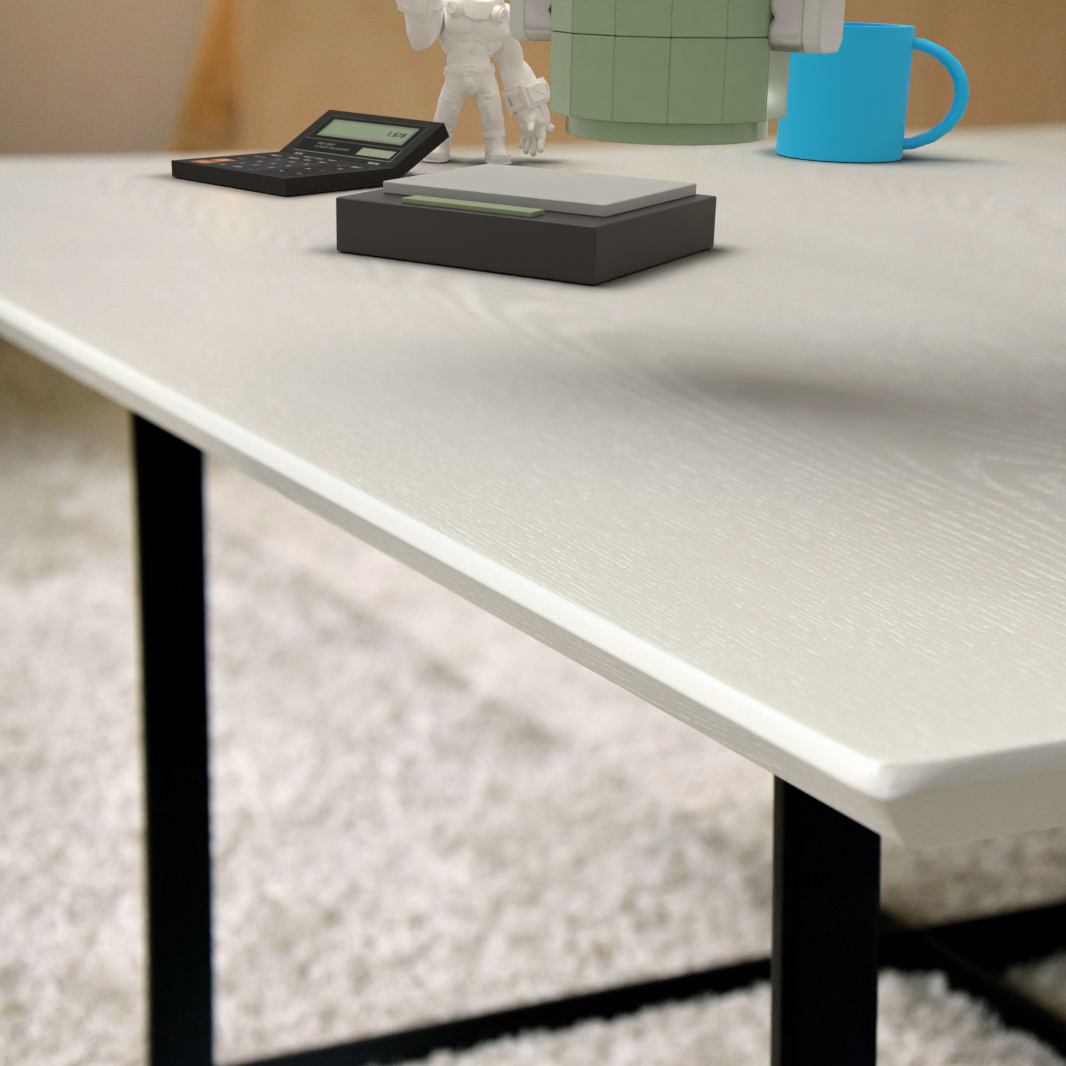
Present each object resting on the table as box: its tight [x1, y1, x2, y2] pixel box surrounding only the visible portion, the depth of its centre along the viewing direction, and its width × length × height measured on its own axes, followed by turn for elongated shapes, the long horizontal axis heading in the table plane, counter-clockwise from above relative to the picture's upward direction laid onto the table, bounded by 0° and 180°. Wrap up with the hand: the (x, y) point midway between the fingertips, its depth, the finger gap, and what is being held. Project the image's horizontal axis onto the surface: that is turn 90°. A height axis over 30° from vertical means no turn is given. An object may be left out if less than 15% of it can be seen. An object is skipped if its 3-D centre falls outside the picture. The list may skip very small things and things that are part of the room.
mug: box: [775, 21, 970, 163], centre depth 105 cm, size 12×8×8 cm
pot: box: [549, 0, 790, 147], centre depth 46 cm, size 7×7×5 cm
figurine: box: [395, 0, 556, 165], centre depth 96 cm, size 10×5×12 cm, turn 127°
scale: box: [335, 163, 717, 286], centre depth 68 cm, size 12×11×3 cm
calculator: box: [170, 109, 449, 197], centre depth 88 cm, size 9×12×3 cm
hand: (668, 46), depth 46 cm, fingers closed on pot, 6 cm apart
